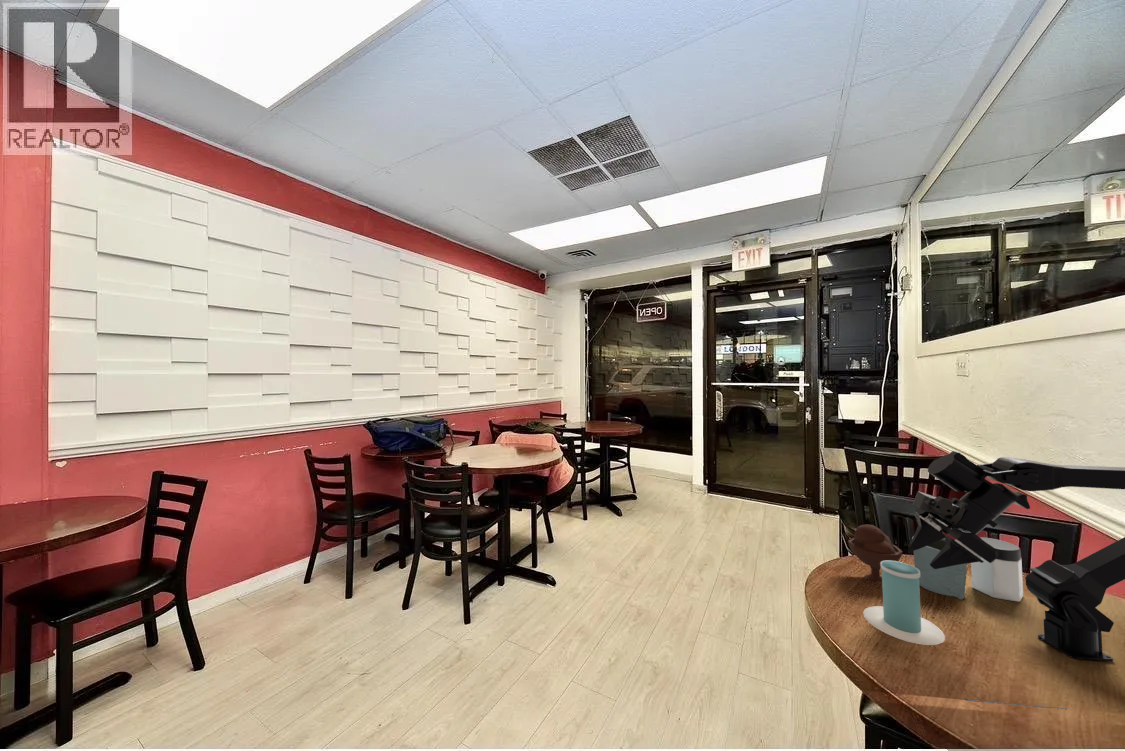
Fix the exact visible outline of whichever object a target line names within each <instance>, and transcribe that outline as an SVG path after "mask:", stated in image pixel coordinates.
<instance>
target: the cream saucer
mask: <svg viewBox="0 0 1125 751" xmlns="http://www.w3.org/2000/svg"><path fill="white" fill-rule="evenodd" d="M862 614H863V616H864V619H865V620H866V621H867V622H868V623H869V624H870V625H871V626H872V627H874V628H876V629H877V630H879V631H881V632H883V633H885V634H886V635H889V636H891V637H894V638H896V639H899V640H901V641H905V642H908V643H911V644H918V645H924V646H925V645H926V646H935V645H940V644H942V643H944V642H945V640H946V636H945V634H944V632H943V631H942V630H941V629H940V628H939V627H938V626H937V625H935V624H934V622H931V621H929V620H927V619H926V618H925V617H924V618H923V617H922V616H921V632H919V633H909V632H904V631H901V630H898V629H896V628H894V627H892V626H890V625H889V624H887V623H886V622H885V621H884V613H883V605H876V606H875V605H873V606H869V607H866V608H865V609H864V610H863V613H862Z"/></svg>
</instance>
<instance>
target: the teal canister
mask: <svg viewBox="0 0 1125 751" xmlns="http://www.w3.org/2000/svg"><path fill="white" fill-rule="evenodd" d="M880 566H881V568H880V570H881V577H882V582H881V585H882V606H883V613H884V621H885V622H886V623H887V624H889V625H890V626H892V627H894V628H896V629H898V630H901V631H904V632H909V633H919V632H921V617H922V616H921V614H922V613H921V611H922V610H921V594H920V593H921V589H920V587H921V586H920V585H919V578H920V571H919V570H918V569H917V568H915V566H914V565H911V564H909V563H905V562H901V561H898V562H897V561H889V560H886V561H882V562H881V563H880Z"/></svg>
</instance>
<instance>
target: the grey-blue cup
mask: <svg viewBox="0 0 1125 751" xmlns="http://www.w3.org/2000/svg"><path fill="white" fill-rule="evenodd" d="M912 539H913V536H912V537H911V540H912ZM945 545H946V541H945V538H944V539H941V540H939V541H937V542H934V543H932V544H930V545H927V546H925V547H923V548H920V549H918V550H915V551H913V550H912V551H913V565H914V567H915V568H917V569H918V570H919V571H920V578H919V587H922V588H924V589H926V590H927V591H930V592H932V593H936V594H939V595H943V596H948V597H956V598H957V599H959V600H961V601H962V600H963V599H965V595H966V584H967V583H966V582H967V573H968V572H967V570H968V568H967V565H968V563H967V564H960V565H954V566H949V567H944V568H939V569H934V568H933V567H931V566H930V563H931V562H932V560H933V559H934V558H935V557H936V555H937V554H938V553H939V552H940V551H941V550H942V549H943V548H944V546H945Z"/></svg>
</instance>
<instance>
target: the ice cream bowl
mask: <svg viewBox="0 0 1125 751" xmlns="http://www.w3.org/2000/svg"><path fill="white" fill-rule="evenodd" d="M847 542H848V546H849V548H850V551H851V552H852V553H853V554H854V555H855V556H856V557H857V558H858V559H859V560H860V561H861V562H862V563H863V564H865V565H867V566H869V567H870V569H871V570H870V573H871V574H870V573H869V574H868V573H867V574H865V575H864V576H862V578H865V579H869V580H871V581H873V582H876V583H877V582H878V583H882V575H881V573H880V570H881V566H880V563H881V562H882V561H886V560H889V561H897V562H900V560H901V558H902V556H903V550H902V549H901V548H899V547H898V546H897V545H895V544H893V543H892V541H891V539H890V537H889V535H887V534H886V533H884V532H883V531H882V530H881V529H880V528H879V527H877V526H875V525H874V524H861V525H859V526H857V527H856V529H855V531H854V536H853V537H851V538H850V539H849V540H847Z"/></svg>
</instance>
